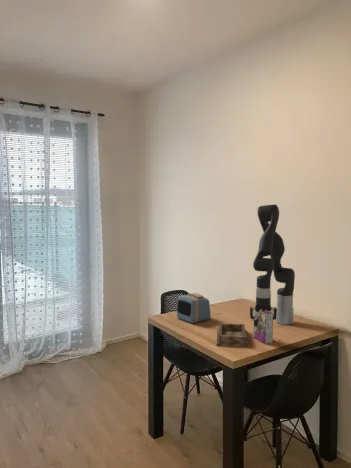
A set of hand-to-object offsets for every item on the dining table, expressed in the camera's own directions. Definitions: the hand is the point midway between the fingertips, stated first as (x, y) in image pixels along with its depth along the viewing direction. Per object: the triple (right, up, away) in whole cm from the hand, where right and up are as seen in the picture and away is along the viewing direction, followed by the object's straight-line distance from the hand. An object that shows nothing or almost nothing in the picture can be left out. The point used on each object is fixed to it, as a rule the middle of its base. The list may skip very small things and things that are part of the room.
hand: (262, 326), depth 205 cm
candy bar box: (0, -7, +1) cm, 8 cm away
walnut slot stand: (-16, -7, +5) cm, 18 cm away
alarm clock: (-35, -4, +39) cm, 52 cm away
